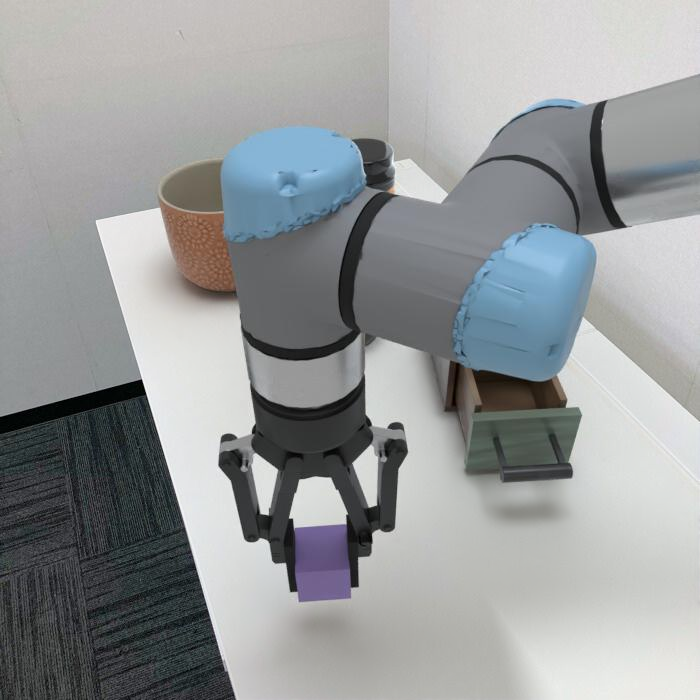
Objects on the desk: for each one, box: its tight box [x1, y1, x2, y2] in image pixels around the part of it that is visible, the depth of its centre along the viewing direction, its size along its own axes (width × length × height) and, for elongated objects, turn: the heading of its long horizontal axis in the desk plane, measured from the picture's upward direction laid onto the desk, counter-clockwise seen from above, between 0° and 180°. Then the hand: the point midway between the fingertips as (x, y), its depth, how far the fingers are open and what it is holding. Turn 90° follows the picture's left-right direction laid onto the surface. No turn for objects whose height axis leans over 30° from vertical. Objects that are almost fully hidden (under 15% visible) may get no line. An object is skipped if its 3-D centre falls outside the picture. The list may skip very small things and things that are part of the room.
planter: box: [156, 156, 236, 293], centre depth 104 cm, size 17×17×15 cm
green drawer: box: [453, 362, 583, 484], centre depth 78 cm, size 19×11×8 cm, turn 4°
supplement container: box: [350, 137, 397, 194], centre depth 118 cm, size 10×10×12 cm
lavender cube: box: [294, 523, 352, 603], centre depth 59 cm, size 4×4×4 cm
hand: (323, 575), depth 61 cm, fingers closed on lavender cube, 4 cm apart
